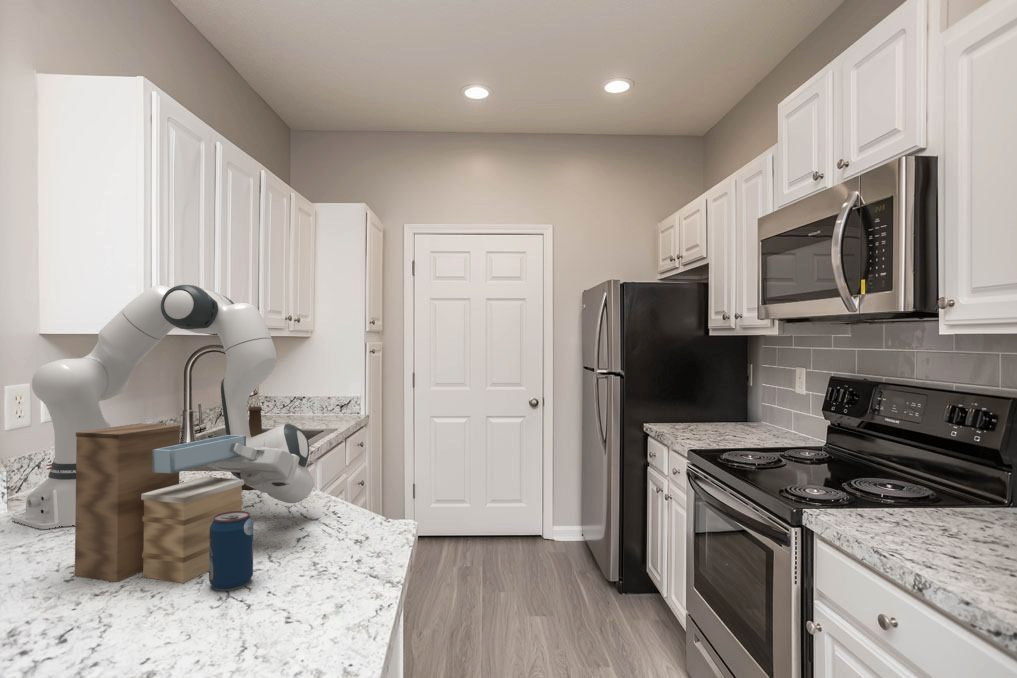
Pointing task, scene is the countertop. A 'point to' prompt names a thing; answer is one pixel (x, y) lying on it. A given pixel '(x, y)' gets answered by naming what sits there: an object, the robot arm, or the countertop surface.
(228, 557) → the soda can
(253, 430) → the beer bottle
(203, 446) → the blue-gray container
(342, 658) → the countertop surface
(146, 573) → the oak crate
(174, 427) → the walnut stand
